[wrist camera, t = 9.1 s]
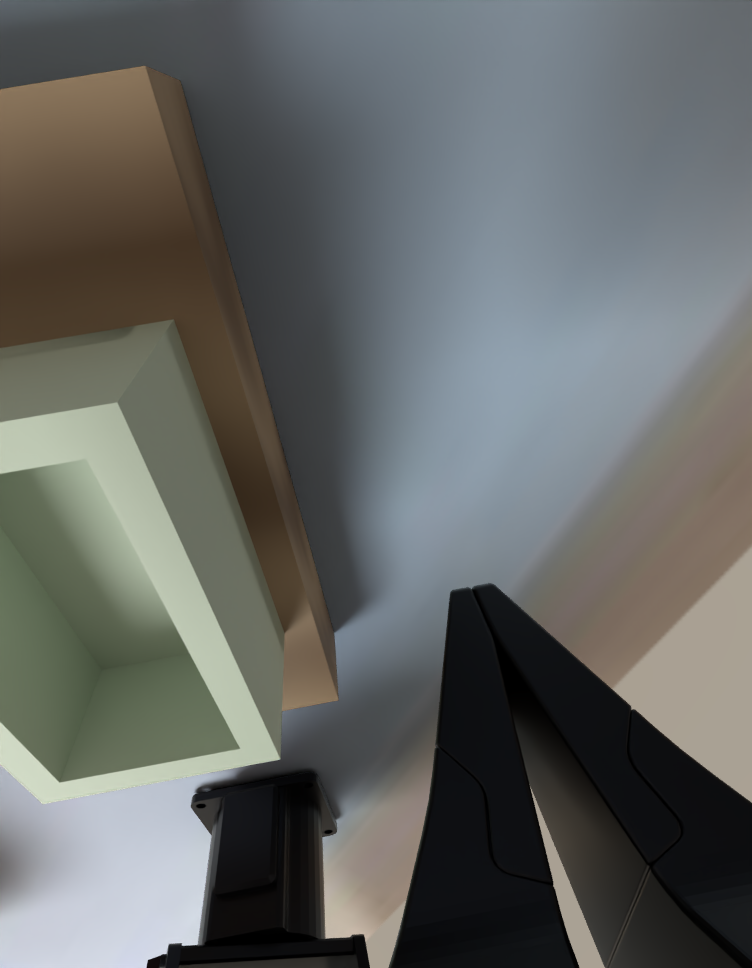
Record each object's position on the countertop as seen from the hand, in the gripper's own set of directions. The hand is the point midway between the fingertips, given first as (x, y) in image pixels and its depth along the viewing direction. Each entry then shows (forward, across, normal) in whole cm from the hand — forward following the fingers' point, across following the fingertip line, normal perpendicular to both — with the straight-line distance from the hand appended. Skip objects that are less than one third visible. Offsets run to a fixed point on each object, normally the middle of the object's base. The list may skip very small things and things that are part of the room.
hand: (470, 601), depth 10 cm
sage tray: (+4, +8, 0) cm, 9 cm away
